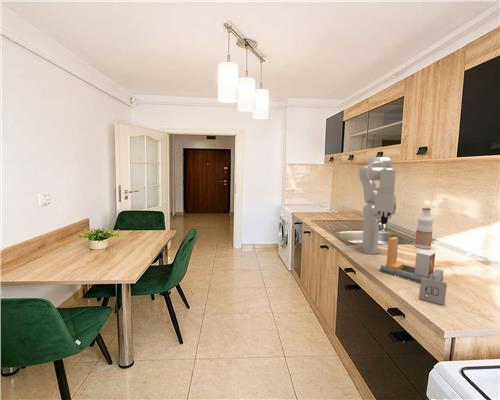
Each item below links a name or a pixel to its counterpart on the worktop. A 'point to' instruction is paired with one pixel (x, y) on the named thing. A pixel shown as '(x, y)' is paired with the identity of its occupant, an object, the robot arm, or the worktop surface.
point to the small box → (424, 263)
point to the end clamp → (393, 254)
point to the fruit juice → (424, 230)
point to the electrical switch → (433, 290)
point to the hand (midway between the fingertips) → (383, 223)
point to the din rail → (412, 273)
